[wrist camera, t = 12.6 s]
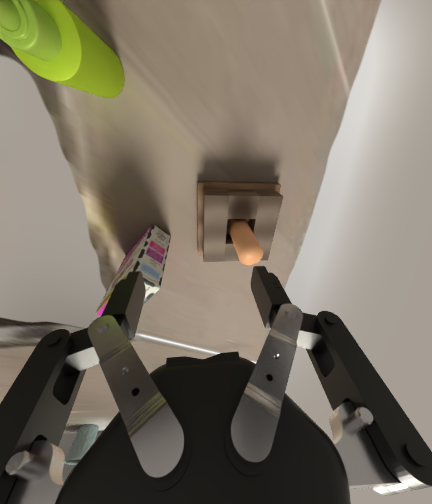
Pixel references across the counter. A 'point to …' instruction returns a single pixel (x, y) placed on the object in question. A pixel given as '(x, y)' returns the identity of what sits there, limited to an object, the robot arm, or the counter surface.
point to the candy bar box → (143, 263)
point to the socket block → (235, 216)
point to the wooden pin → (244, 241)
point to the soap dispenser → (60, 46)
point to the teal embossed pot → (82, 443)
